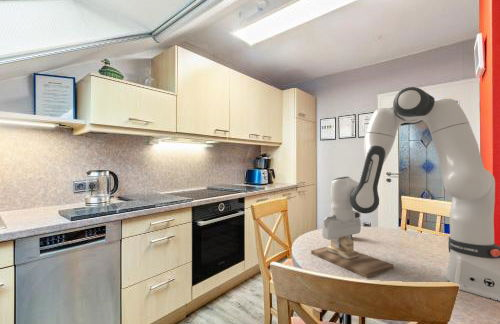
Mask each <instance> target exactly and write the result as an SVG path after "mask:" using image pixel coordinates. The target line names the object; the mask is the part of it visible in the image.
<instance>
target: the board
mask: <svg viewBox="0 0 500 324" xmlns="http://www.w3.org/2000/svg"><path fill="white" fill-rule="evenodd" d="M326 247H327V246H324V247H320V248H317V249H316V248H315V249H311V250H310V253H311V255H313V256H315V257H317V258H320V259H322V260H324V261H327V262H328V263H331V264H334V265H336V266H338V267H341V268H343V269H345V270H347V271H350V272H352V273H355V274H357V275H359V276H360V277H361V276H362V277H364V278H365V277H366V278H365V279H367V278H368V277H369V278H372V277H374V276H376V275H379V274H382V273H384V272H388V271H390V270H393V269H394V266H395V265H394V264H393V263H391V262H388V261H386V260H385V261H384V260H382V259H379V258H376V257H373V256H371V255H368V254H365V253H361V252H359V257H357V258H354V259H351V260H348V259H345V258H343V257H340V256H338V255H335V254H333V253H330V252H328V251H327V249H326Z"/></svg>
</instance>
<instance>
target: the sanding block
mask: <svg viewBox="0 0 500 324" xmlns="http://www.w3.org/2000/svg"><path fill="white" fill-rule="evenodd" d="M338 241H339V243H341V247H340V248H336V247H335V242H334V240H333V239H331V240H330V245H328V246H325V247H326V249H327V251H328V252H330V253H333V254H335V255H338V256H340V257H343V258H345V259H348V260H351V259H354V258H357V257H359V253H360V251H356V250H355V249H354V248H355V247H354V244H355V243H354V239H352V238H351V239H349V238H346V237H340V238H339V240H338Z"/></svg>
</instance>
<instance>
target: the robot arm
mask: <svg viewBox="0 0 500 324" xmlns="http://www.w3.org/2000/svg"><path fill="white" fill-rule="evenodd" d="M392 105H393V106H391V107H381V108H378V109H376V110H375V111H373V113H372V114H371V117H370V119H369V120H368V121H369V122H368V124H367V127H366V130H365V134H364V138H363V144H362V145H363V155H364V164H363V169H362V172H361V175H360V176H361V177H360V179H359V181H356V179H355V180H354V179H352V177H350V176H341V177H340V176H339V177H336V178H334V179H333V180H332V181H331V184H330V200H331V204H330V215H329V216H325V218H324V219H323V223H322V224H323V225H322V232H321V233H322V237H323V239H326V240H329V241H331V239H333V240H334V242H335V247H336V248H340V247H341V243H339V241H338V240H339V238H340V237H344V236H345V237H346V238H349V239H350V238H351V235H352V236H353V235H358V234H360V232H361V230H362V229H361V226H362V223H361V215H362V214H371V213H374V212H375V211H376V210H377V209H378V208H379V205H380V197H379V193H378V185H379V181H380V177H381V174H382V169H383V165H384V164H385V162H386V160H387V158H388V156H389V154H390V152H391V150H392V148H393V146H394V142H395V140H396V135H397V132H398V129H399V127H400V126H403V127H404V126H408V125H410V126H411V125H416V124H419V123H421V122H424V123H425V124H426V126H427V127H428V130H429V133H430V137H431V139H432V141H433V144H434V145H433V146H434V147H435V150H436V154H437V157H438V161H439V167H440V172H441V177H442V183H443V188H444V191H446V193H447V194H448V195H449V196H450V197H452V198H451V199H452V200H451V204H450V205H451V206H450V210H449V237H448V240H447V241H448V242H447V245H448V246H447V247H448V252H449V261H448V266H447V269H446V272H445V276H444V277H445V279H446V280H447V281H449V282H450V283H451V282H454V283H457V284H459V285H460V289H459V290H460V291H464V292H467V293H470V294H473V295H477V296H480V297H484V298H488V299H490V298H491V300H494V301H497V300H498V302H500V245H498V244H496V242H495V226H494V224H495V223H494V221H495V220H494V219H495V218H494V217H495V216H494V215H495V203H496V179H495V177H494V175H493V174H492V173H491V172H490V171H489V170H488V169H486V168H485V166H484V163H483V160H482V156H481V152H480V149H479V144H478V142H477V139H476V137H475V134H474V131H473V129H472V127H471V124H470V121H469V119H468V117H467V115H466V113H465V111H464V110H463V108H462V106H461V105H460V104H459V103H458V102H457V101H456V100H455V99H453V98H442V99H439V100H435V97H434V96H432V95H431V94H429V93H428V92H426V91H425V90H423V89H422V88H419V87H416V86H410V87H406V88H404V89H401V90H400V91H399V92H398V93H397V94H396V95H395V97H394V99H393V104H392ZM353 209H354V210H353ZM351 239H352V238H351Z"/></svg>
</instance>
